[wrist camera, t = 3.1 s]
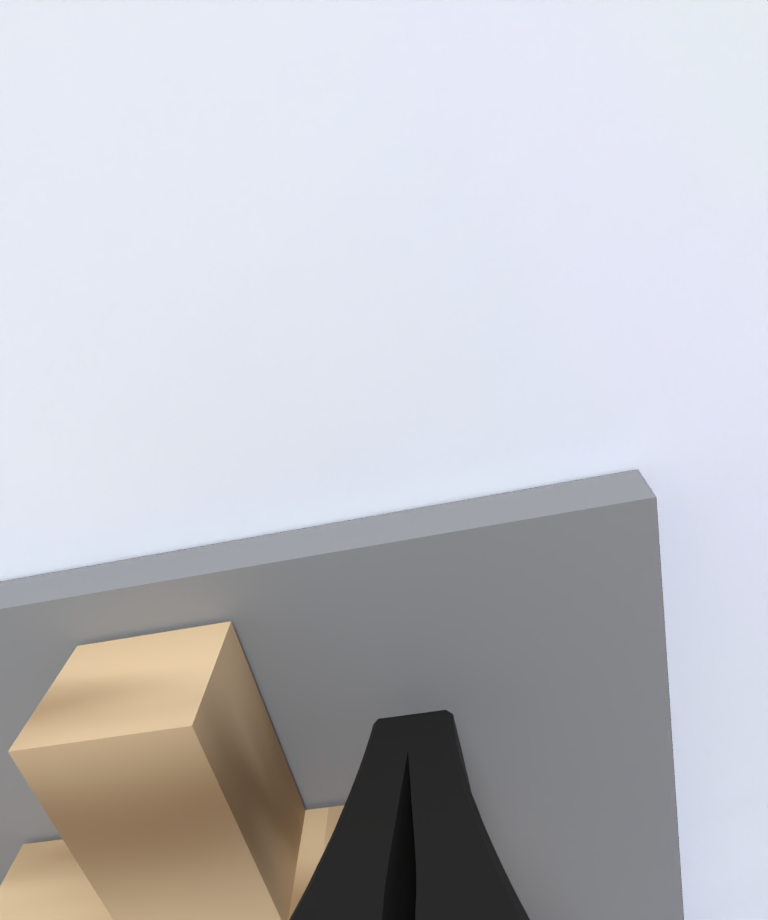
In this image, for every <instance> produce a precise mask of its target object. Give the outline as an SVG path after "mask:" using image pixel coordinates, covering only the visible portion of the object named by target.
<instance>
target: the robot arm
mask: <svg viewBox="0 0 768 920" xmlns="http://www.w3.org/2000/svg"><path fill="white" fill-rule="evenodd" d="M289 920H530V919H529V917H528V915H527V913H526V911H525V909H524V907H523V906H522V904H521V902H520V900H519V898H518V896H517V894H516V892H515V890H514V888H513V886H512V884H511V882H510V880H509V878H508V876H507V874H506V872H505V870H504V868H503V866H502V863H501V861H500V859H499V857H498V855H497V853H496V850H495V848H494V846H493V844H492V842H491V840H490V837H489V835H488V833H487V830H486V828H485V826H484V823H483V821H482V818H481V816H480V813H479V810H478V808H477V805H476V803H475V800H474V798H473V795H472V793H471V789H470V783H469V779H468V775H467V771H466V766H465V762H464V758H463V754H462V749H461V745H460V741H459V737H458V733H457V728H456V724H455V720H454V716H453V714H452V713H451V712H449V711H447V710H440V711H432V712H425V713H417V714H410V715H402V716H395V717H387V718H380V719H378V720H377V721H376V722H375V723H374V724H373V727H372V731H371V734H370V737H369V741H368V744H367V747H366V750H365V753H364V756H363V759H362V761H361V764H360V767H359V770H358V772H357V775H356V778H355V780H354V783H353V786H352V788H351V791H350V793H349V796H348V798H347V800H346V803H345V805H344V808H343V810H342V812H341V815H340V817H339V820H338V822H337V824H336V827H335V829H334V831H333V834H332V836H331V838H330V840H329V842H328V844H327V846H326V848H325V851H324V853H323V855H322V857H321V859H320V861H319V863H318V865H317V867H316V869H315V871H314V873H313V875H312V877H311V880H310V882H309V884H308V886H307V887H306V889H305V891H304V893H303V895H302V897H301V899H300V901H299V903H298V905H297V906H296V908H295V910H294V912H293V914H292V915H291V917H290V919H289Z"/></svg>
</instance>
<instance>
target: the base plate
mask: <svg viewBox="0 0 768 920" xmlns="http://www.w3.org/2000/svg"><path fill="white" fill-rule="evenodd" d="M230 621H231V622H232V625H233V627H234V630H235V633H236V635H237V638H238V640H239V643H240V645H241V648H242V650H243V653H244V655H245V658H246V660H247V663H248V665H249V668H250V671H251V673H252V676H253V678H254V681H255V683H256V686H257V688H258V691H259V693H260V696H261V698H262V701H263V703H264V706H265V709H266V711H267V714H268V716H269V719H270V721H271V724H272V726H273V729H274V731H275V734H276V736H277V739H278V741H279V744H280V747H281V749H282V752H283V754H284V757H285V759H286V762H287V764H288V767H289V769H290V772H291V774H292V777H293V779H294V782H295V785H296V787H297V790H298V792H299V795H300V797H301V800H302V802H303V805H304V807H305V810H310V809H318V808H326V807H334V806H343V805H345V803H346V800H347V798H348V796H349V793H350V791H351V788H352V786H353V783H354V780H355V778H356V775H357V772H358V770H359V767H360V764H361V761H362V759H363V756H364V753H365V750H366V747H367V744H368V741H369V737H370V734H371V731H372V727H373V724H374V723H375V722H376V721H377V720H378V719H380V718H387V717H395V716H402V715H410V714H417V713H425V712H432V711H440V710H447V711H449V712H451V713H452V714H453V716H454V720H455V724H456V728H457V733H458V737H459V741H460V745H461V749H462V754H463V758H464V762H465V766H466V771H467V775H468V779H469V783H470V789H471V790H472V793H473V797H474V800H475V803H476V805H477V808H478V810H479V813H480V816H481V818H482V821H483V823H484V826H485V828H486V830H487V833H488V835H489V837H490V840H491V842H492V844H493V846H494V848H495V850H496V853H497V855H498V857H499V859H500V861H501V863H502V866H503V868H504V870H505V872H506V874H507V876H508V878H509V880H510V882H511V884H512V886H513V888H514V890H515V892H516V894H517V896H518V898H519V900H520V902H521V904H522V906H523V907H524V909H525V911H526V913H527V915H528V917H529V919H530V920H684V913H683V898H682V882H681V867H680V852H679V836H678V821H677V806H676V790H675V775H674V760H673V744H672V729H671V714H670V698H669V683H668V668H667V652H666V637H665V622H664V606H663V591H662V576H661V560H660V545H659V530H658V514H657V499H656V496H655V494H654V493H653V491H652V490H651V488H650V487H649V485H648V484H647V482H646V481H645V479H644V478H643V476H642V475H641V473H640V472H639V470H632V471H627V472H621V473H615V474H610V475H604V476H598V477H593V478H587V479H581V480H576V481H570V482H564V483H558V484H553V485H547V486H541V487H536V488H530V489H524V490H519V491H513V492H507V493H502V494H496V495H490V496H485V497H479V498H473V499H468V500H462V501H456V502H451V503H445V504H439V505H434V506H428V507H422V508H416V509H411V510H405V511H399V512H394V513H388V514H382V515H377V516H371V517H365V518H360V519H354V520H348V521H343V522H337V523H331V524H326V525H320V526H314V527H309V528H303V529H297V530H292V531H286V532H280V533H274V534H269V535H263V536H257V537H252V538H246V539H240V540H235V541H229V542H223V543H218V544H212V545H206V546H201V547H195V548H189V549H184V550H178V551H172V552H167V553H161V554H155V555H150V556H144V557H138V558H132V559H127V560H121V561H115V562H110V563H104V564H98V565H93V566H87V567H81V568H76V569H70V570H64V571H59V572H53V573H47V574H42V575H36V576H30V577H25V578H19V579H13V580H7V581H2V582H0V885H1V884H2V882H3V880H4V878H5V876H6V874H7V873H8V871H9V869H10V867H11V865H12V864H13V862H14V860H15V858H16V856H17V854H18V853H19V851H20V849H21V847H22V845H23V844H28V843H37V842H45V841H53V840H61V839H62V837H61V836H60V834H59V833H58V831H57V829H56V828H55V826H54V825H53V823H52V821H51V820H50V818H49V817H48V815H47V813H46V812H45V810H44V809H43V807H42V805H41V804H40V802H39V801H38V799H37V797H36V796H35V794H34V793H33V791H32V789H31V788H30V786H29V785H28V783H27V781H26V780H25V778H24V777H23V775H22V773H21V772H20V770H19V769H18V767H17V766H16V764H15V762H14V761H13V759H12V758H11V756H10V754H9V753H8V751H9V749H10V748H11V746H12V745H13V743H14V741H15V740H16V738H17V737H18V735H19V734H20V732H21V731H22V729H23V728H24V726H25V725H26V723H27V722H28V720H29V719H30V717H31V716H32V714H33V713H34V711H35V709H36V708H37V706H38V705H39V703H40V702H41V700H42V699H43V697H44V696H45V694H46V693H47V691H48V690H49V688H50V687H51V685H52V684H53V682H54V681H55V679H56V678H57V676H58V674H59V673H60V671H61V670H62V668H63V667H64V665H65V664H66V662H67V661H68V659H69V658H70V656H71V655H72V653H73V652H74V650H75V649H76V647H77V646H80V645H86V644H93V643H99V642H105V641H111V640H117V639H124V638H130V637H136V636H142V635H149V634H155V633H161V632H167V631H174V630H180V629H186V628H192V627H199V626H205V625H211V624H217V623H224V622H230Z"/></svg>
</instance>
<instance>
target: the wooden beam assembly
mask: <svg viewBox="0 0 768 920" xmlns="http://www.w3.org/2000/svg"><path fill="white" fill-rule="evenodd" d="M8 753H9V754H10V756H11V758H12V759H13V761H14V762H15V764H16V766H17V767H18V769H19V770H20V772H21V773H22V775H23V777H24V778H25V780H26V781H27V783H28V785H29V786H30V788H31V789H32V791H33V793H34V794H35V796H36V797H37V799H38V801H39V802H40V804H41V805H42V807H43V809H44V810H45V812H46V813H47V815H48V817H49V818H50V820H51V821H52V823H53V825H54V826H55V828H56V829H57V831H58V833H59V834H60V836H61V837H62V839H61V840H53V841H45V842H37V843H28V844H23V845H22V847H21V849H20V851H19V853H18V854H17V856H16V858H15V860H14V862H13V864H12V865H11V867H10V869H9V871H8V873H7V874H6V876H5V878H4V880H3V882H2V884H1V885H0V920H289V919H290V917H291V915H292V914H293V912H294V910H295V908H296V906H297V905H298V903H299V901H300V899H301V897H302V895H303V893H304V891H305V889H306V887H307V886H308V884H309V882H310V880H311V877H312V875H313V873H314V871H315V869H316V867H317V865H318V863H319V861H320V859H321V857H322V855H323V853H324V851H325V848H326V846H327V844H328V842H329V840H330V838H331V836H332V834H333V831H334V829H335V827H336V824H337V822H338V820H339V817H340V815H341V812H342V810H343V808H344V805H343V806H334V807H326V808H318V809H310V810H305V807H304V805H303V802H302V800H301V797H300V795H299V792H298V790H297V787H296V785H295V782H294V779H293V777H292V774H291V772H290V769H289V767H288V764H287V762H286V759H285V757H284V754H283V752H282V749H281V747H280V744H279V741H278V739H277V736H276V734H275V731H274V729H273V726H272V724H271V721H270V719H269V716H268V714H267V711H266V709H265V706H264V703H263V701H262V698H261V696H260V693H259V691H258V688H257V686H256V683H255V681H254V678H253V676H252V673H251V671H250V668H249V665H248V663H247V660H246V658H245V655H244V653H243V650H242V648H241V645H240V643H239V640H238V638H237V635H236V633H235V630H234V627H233V625H232V622H231V621H230V622H224V623H217V624H211V625H205V626H199V627H192V628H186V629H180V630H174V631H167V632H161V633H155V634H149V635H142V636H136V637H130V638H124V639H117V640H111V641H105V642H99V643H93V644H86V645H80V646H77V647H76V649H75V650H74V652H73V653H72V655H71V656H70V658H69V659H68V661H67V662H66V664H65V665H64V667H63V668H62V670H61V671H60V673H59V674H58V676H57V678H56V679H55V681H54V682H53V684H52V685H51V687H50V688H49V690H48V691H47V693H46V694H45V696H44V697H43V699H42V700H41V702H40V703H39V705H38V706H37V708H36V709H35V711H34V713H33V714H32V716H31V717H30V719H29V720H28V722H27V723H26V725H25V726H24V728H23V729H22V731H21V732H20V734H19V735H18V737H17V738H16V740H15V741H14V743H13V745H12V746H11V748H10V749H9V751H8ZM471 793H472V790H471ZM472 795H473V793H472ZM473 798H474V797H473Z"/></svg>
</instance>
